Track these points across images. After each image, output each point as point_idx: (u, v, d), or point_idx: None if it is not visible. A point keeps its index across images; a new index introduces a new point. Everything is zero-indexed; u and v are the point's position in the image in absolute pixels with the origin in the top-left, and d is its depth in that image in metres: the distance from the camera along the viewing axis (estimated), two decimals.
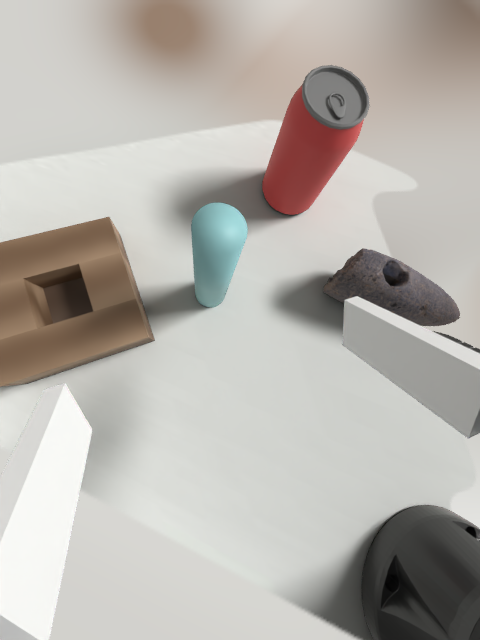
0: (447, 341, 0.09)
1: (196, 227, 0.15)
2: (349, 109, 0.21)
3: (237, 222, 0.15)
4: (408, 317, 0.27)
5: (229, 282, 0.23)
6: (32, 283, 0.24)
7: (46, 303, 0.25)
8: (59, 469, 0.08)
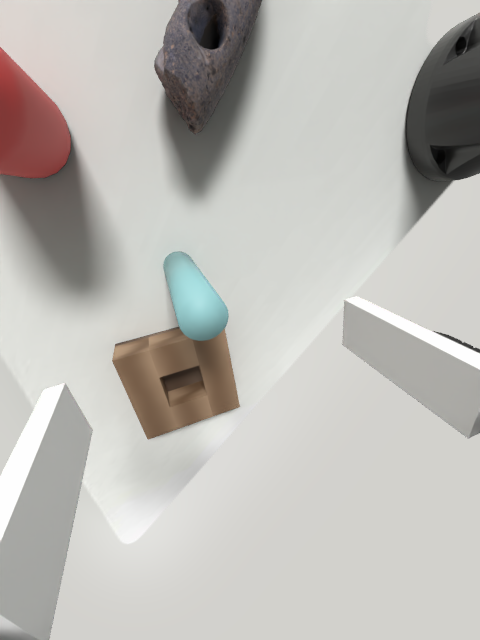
0: (447, 341, 0.09)
1: (201, 336, 0.17)
2: None
3: (199, 302, 0.16)
4: None
5: (198, 269, 0.23)
6: (168, 400, 0.33)
7: (180, 388, 0.34)
8: (59, 469, 0.08)
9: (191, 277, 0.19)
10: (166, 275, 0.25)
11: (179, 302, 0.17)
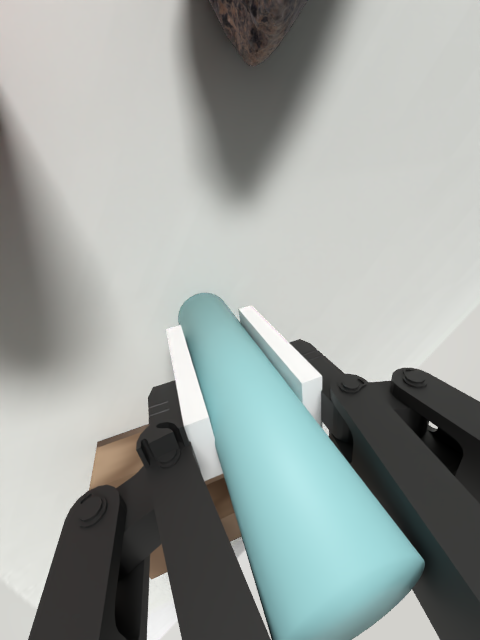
0: (291, 350, 0.10)
1: None
2: None
3: (356, 590, 0.04)
4: None
5: (258, 348, 0.11)
6: None
7: None
8: None
9: (270, 406, 0.08)
10: None
11: (272, 559, 0.05)
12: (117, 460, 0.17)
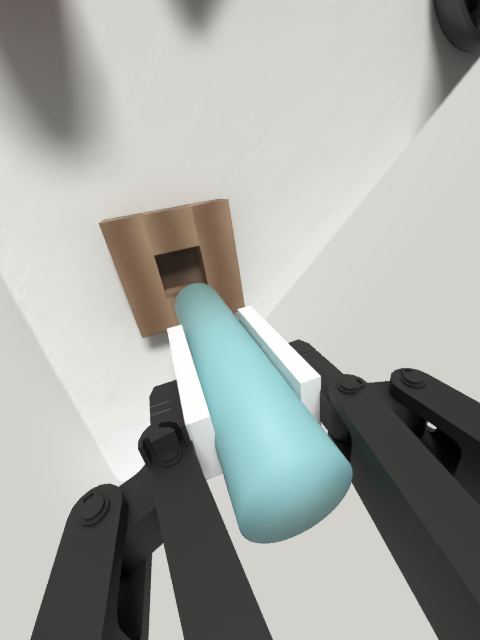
0: (290, 350, 0.10)
1: (287, 533, 0.07)
2: None
3: (294, 476, 0.06)
4: None
5: (242, 326, 0.13)
6: (165, 294, 0.29)
7: (179, 286, 0.31)
8: None
9: (245, 365, 0.09)
10: None
11: (237, 462, 0.07)
12: (117, 218, 0.25)
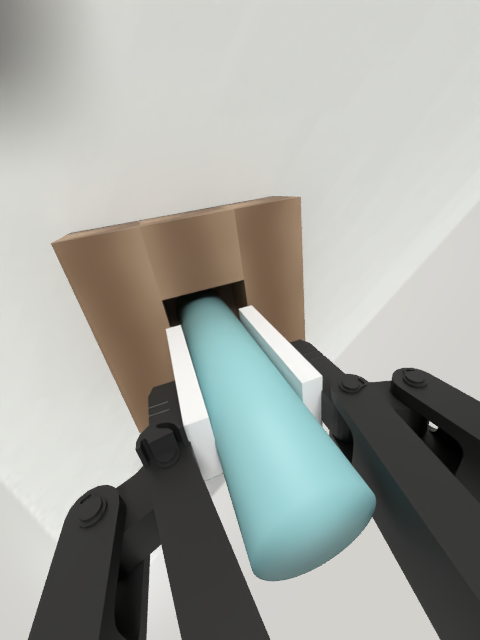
0: (291, 350, 0.10)
1: (302, 568, 0.07)
2: None
3: (314, 510, 0.05)
4: None
5: (248, 333, 0.12)
6: None
7: None
8: None
9: (254, 378, 0.09)
10: (185, 337, 0.14)
11: (249, 492, 0.06)
12: (92, 232, 0.13)
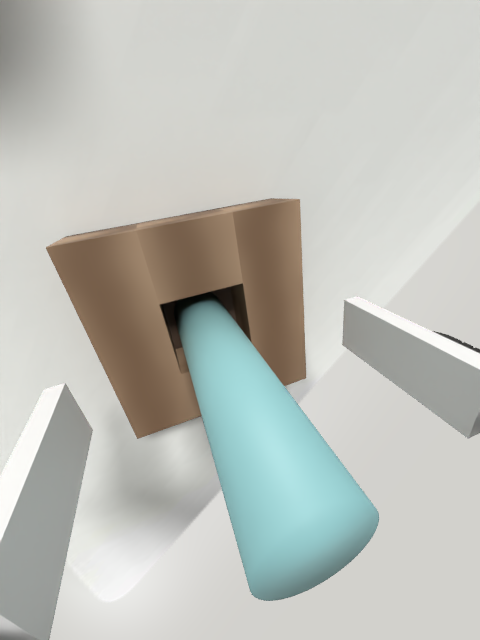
0: (447, 341, 0.09)
1: (303, 586, 0.06)
2: None
3: (315, 529, 0.05)
4: None
5: (247, 339, 0.12)
6: (178, 361, 0.17)
7: None
8: (59, 469, 0.08)
9: (253, 386, 0.08)
10: (183, 341, 0.14)
11: (247, 508, 0.06)
12: (88, 236, 0.13)
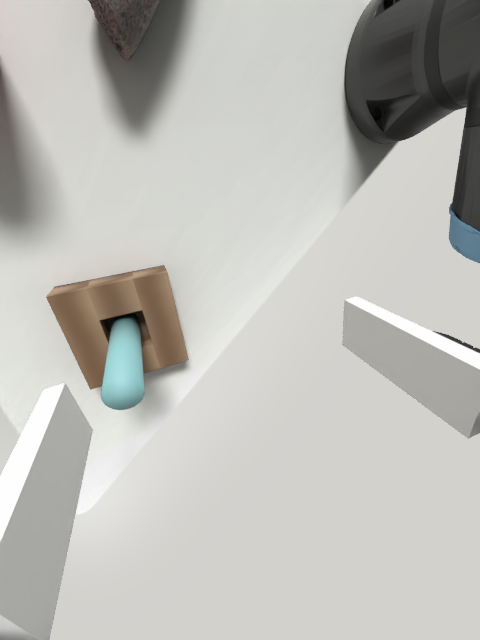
0: (447, 341, 0.09)
1: (122, 406, 0.22)
2: None
3: (118, 383, 0.21)
4: None
5: (134, 336, 0.28)
6: None
7: None
8: (59, 469, 0.08)
9: (121, 352, 0.24)
10: None
11: (104, 381, 0.21)
12: (65, 289, 0.28)
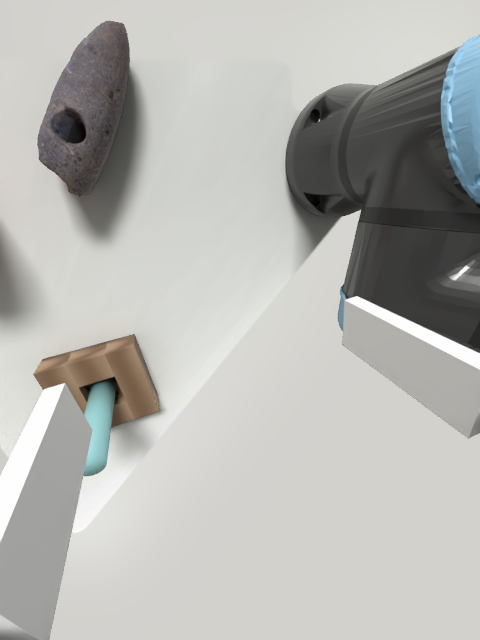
0: (447, 341, 0.09)
1: (89, 473, 0.28)
2: None
3: None
4: (120, 108, 0.25)
5: (106, 404, 0.34)
6: None
7: None
8: (59, 469, 0.08)
9: (90, 425, 0.30)
10: (87, 402, 0.35)
11: None
12: (49, 364, 0.34)
